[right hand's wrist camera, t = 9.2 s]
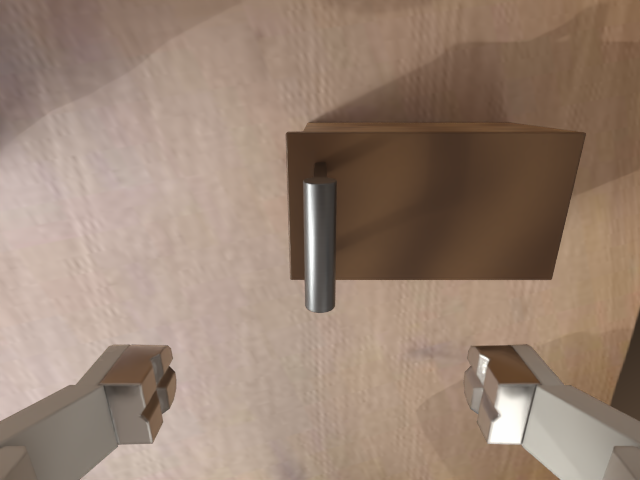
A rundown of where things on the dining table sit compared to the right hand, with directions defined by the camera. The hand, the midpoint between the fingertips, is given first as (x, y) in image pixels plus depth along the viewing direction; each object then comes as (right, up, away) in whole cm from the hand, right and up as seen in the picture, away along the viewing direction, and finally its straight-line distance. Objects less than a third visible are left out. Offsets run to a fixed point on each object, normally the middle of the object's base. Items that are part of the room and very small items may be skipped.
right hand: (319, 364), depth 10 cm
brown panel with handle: (+7, +6, +15) cm, 17 cm away
